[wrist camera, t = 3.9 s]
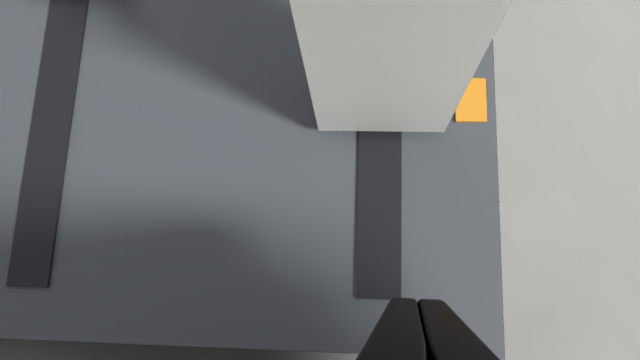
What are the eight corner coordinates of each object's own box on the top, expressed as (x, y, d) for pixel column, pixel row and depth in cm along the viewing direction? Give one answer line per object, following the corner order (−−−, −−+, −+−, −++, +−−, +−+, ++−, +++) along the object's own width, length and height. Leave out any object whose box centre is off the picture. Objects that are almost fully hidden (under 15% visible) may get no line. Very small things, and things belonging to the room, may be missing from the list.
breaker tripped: (444, 131, 14) (534, -44, 7) (318, 130, 14) (280, -42, 7) (442, 58, 14) (527, -178, 7) (321, 59, 14) (287, -171, 7)
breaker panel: (481, 350, 15) (506, 360, 13) (-25, 329, 16) (-94, 334, 14) (469, -57, 18) (488, -114, 16) (38, -51, 19) (-10, -105, 17)
